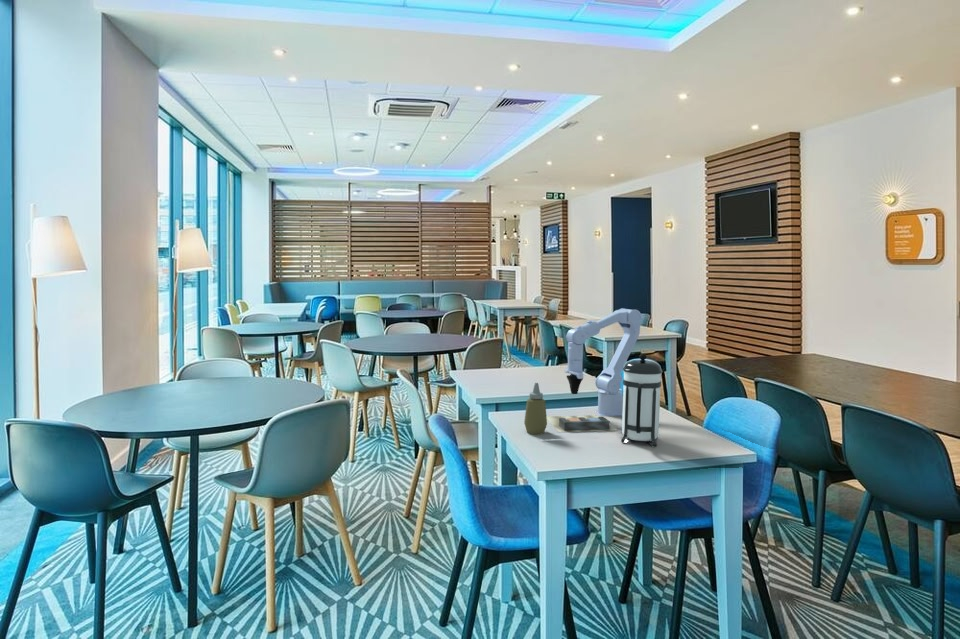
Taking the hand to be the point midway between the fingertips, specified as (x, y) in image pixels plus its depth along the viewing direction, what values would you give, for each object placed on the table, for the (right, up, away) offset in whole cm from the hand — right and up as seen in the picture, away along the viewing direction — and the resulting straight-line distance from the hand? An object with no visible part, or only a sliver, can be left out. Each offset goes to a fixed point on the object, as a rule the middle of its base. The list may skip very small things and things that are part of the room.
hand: (574, 393), depth 222 cm
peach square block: (-3, -10, -17) cm, 20 cm away
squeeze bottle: (-18, -11, -23) cm, 31 cm away
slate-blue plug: (+5, -10, -16) cm, 19 cm away
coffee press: (+17, -12, -32) cm, 38 cm away
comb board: (0, -10, -10) cm, 15 cm away
